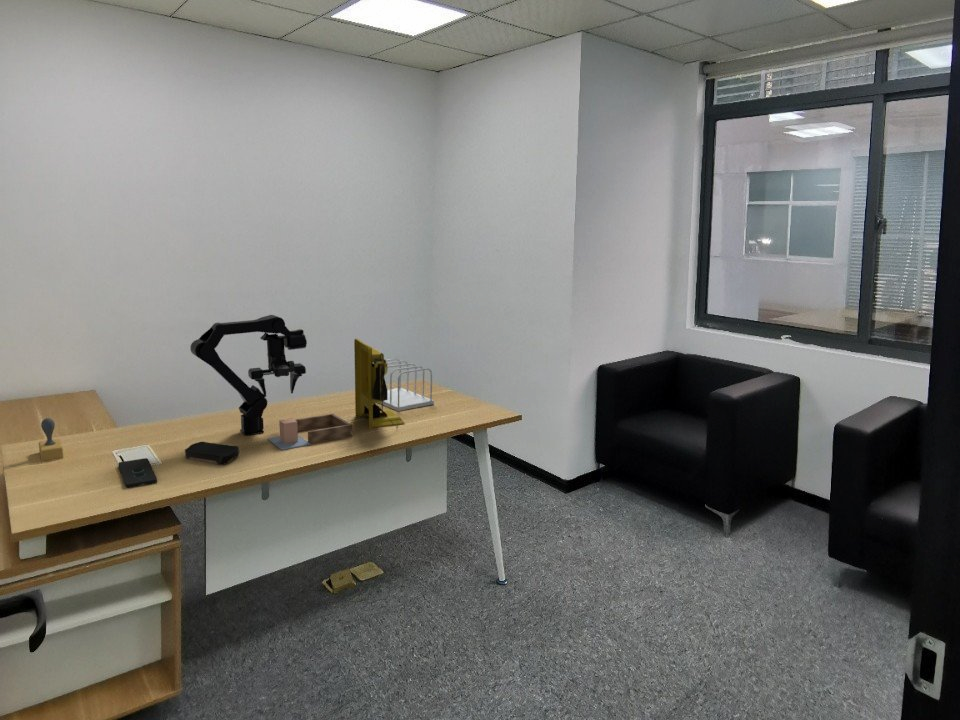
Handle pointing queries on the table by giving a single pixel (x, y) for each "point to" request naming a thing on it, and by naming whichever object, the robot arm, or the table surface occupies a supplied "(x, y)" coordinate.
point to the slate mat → (283, 446)
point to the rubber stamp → (50, 443)
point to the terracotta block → (288, 431)
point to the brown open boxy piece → (335, 432)
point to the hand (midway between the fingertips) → (278, 394)
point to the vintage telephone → (372, 386)
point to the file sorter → (402, 397)
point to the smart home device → (137, 473)
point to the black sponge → (211, 452)
